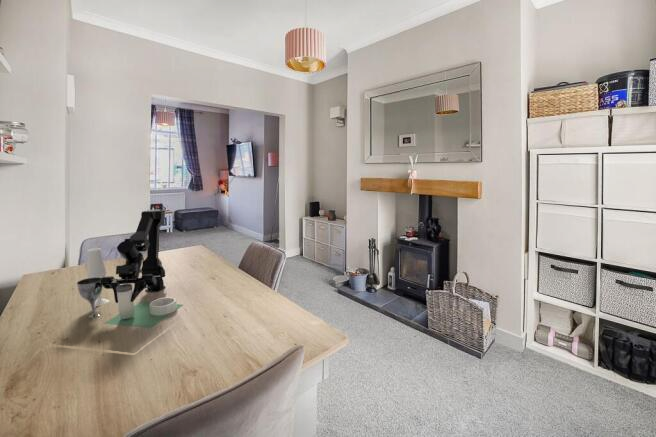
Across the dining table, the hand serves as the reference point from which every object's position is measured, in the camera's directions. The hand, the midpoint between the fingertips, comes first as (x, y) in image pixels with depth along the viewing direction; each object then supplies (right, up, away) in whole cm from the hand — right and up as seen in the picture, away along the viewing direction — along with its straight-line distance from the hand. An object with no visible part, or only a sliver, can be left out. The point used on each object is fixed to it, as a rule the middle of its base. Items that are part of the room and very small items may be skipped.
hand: (124, 302), depth 122 cm
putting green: (+5, -7, +7) cm, 11 cm away
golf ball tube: (0, -6, +2) cm, 6 cm away
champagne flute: (-22, -5, +18) cm, 29 cm away
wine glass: (-15, -7, +5) cm, 18 cm away
